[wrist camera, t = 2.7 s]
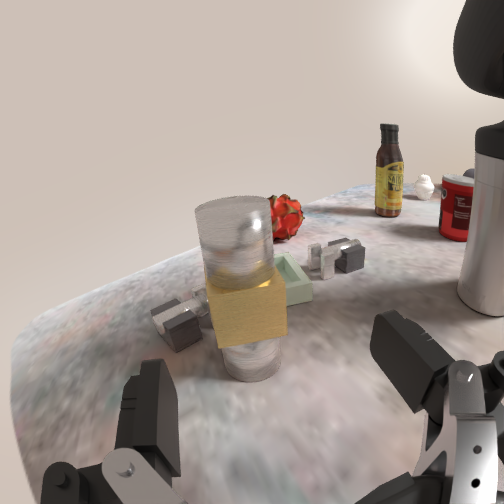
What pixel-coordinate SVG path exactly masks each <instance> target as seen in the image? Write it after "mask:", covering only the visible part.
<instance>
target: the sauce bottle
mask: <svg viewBox="0 0 504 504" xmlns="http://www.w3.org/2000/svg"><path fill="white" fill-rule="evenodd" d="M380 129H381V135H382V136H381V137H382V139H381V147H380V148H379V150H378V152H377V156H376V159H377V160H376V187H375V212H376V213H377V214H379V215H381V216H388V217H395V216H398V215H399V214H400V212H401V208H402V193H403V168H404V164H403V163H404V162H403V159H402V155H401V152H400V149H399V146H398V131H399V128H398V125H395V124H380Z"/></svg>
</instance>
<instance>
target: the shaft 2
mask: <svg viewBox="0 0 504 504" xmlns="http://www.w3.org/2000/svg"><path fill="white" fill-rule="evenodd" d="M364 258H365V247H363V246H361V243H360V241H359V240H358V239H354V240H349V239H347V238H343V239H339V240H335V241H332V242H328V247H325V248H321V245H320V244H318V243H316V244H313V245H309V246H308V268H309V269H310V270H314V269H318V268H321V278H322V279H323V280H326V279H329V278H332V277H334V266H336V267H337V268H339V269H340V270H342V271H343V272H345V273H349V272H352V271H355V270H358V269H361V268H364Z"/></svg>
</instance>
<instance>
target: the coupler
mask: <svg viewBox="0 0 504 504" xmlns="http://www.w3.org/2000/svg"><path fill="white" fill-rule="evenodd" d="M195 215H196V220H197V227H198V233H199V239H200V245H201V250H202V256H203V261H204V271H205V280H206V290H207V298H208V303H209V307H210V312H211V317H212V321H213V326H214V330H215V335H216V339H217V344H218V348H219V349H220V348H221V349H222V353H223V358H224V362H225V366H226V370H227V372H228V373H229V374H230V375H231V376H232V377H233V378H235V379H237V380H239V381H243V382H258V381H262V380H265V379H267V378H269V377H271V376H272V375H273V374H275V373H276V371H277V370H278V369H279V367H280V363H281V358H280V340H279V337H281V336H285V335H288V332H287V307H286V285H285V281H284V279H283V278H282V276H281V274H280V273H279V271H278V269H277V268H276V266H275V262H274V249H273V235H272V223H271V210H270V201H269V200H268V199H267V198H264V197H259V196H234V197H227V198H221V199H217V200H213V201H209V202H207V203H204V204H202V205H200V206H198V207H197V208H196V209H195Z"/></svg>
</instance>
